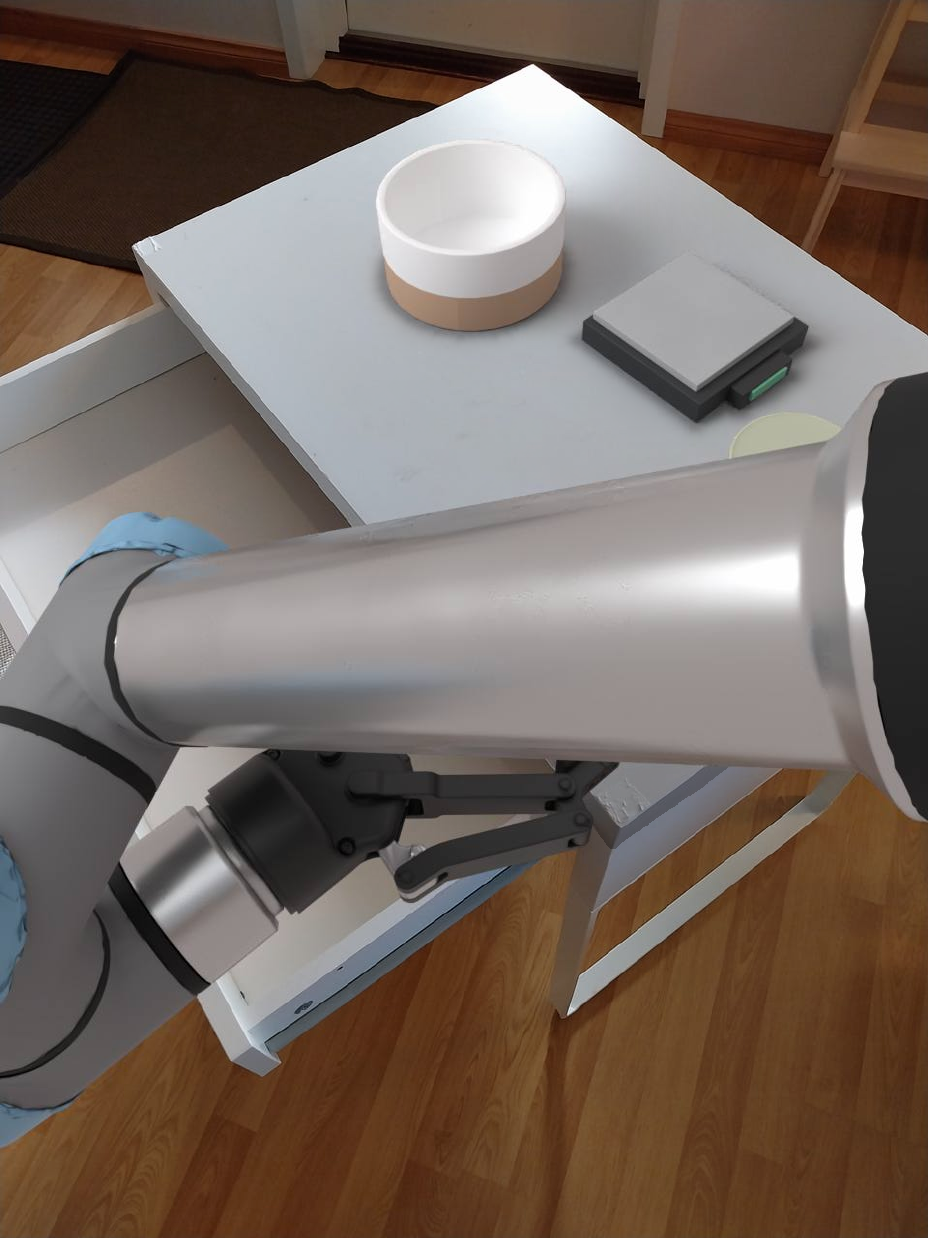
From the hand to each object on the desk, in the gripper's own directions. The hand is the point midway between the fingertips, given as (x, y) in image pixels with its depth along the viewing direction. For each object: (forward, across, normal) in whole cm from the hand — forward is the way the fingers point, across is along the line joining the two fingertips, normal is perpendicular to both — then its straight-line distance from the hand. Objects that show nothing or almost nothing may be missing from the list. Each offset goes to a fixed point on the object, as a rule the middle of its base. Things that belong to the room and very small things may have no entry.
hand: (562, 613), depth 52 cm
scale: (+36, -20, -16) cm, 44 cm away
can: (+22, 0, -16) cm, 27 cm away
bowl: (+28, -41, -16) cm, 52 cm away
